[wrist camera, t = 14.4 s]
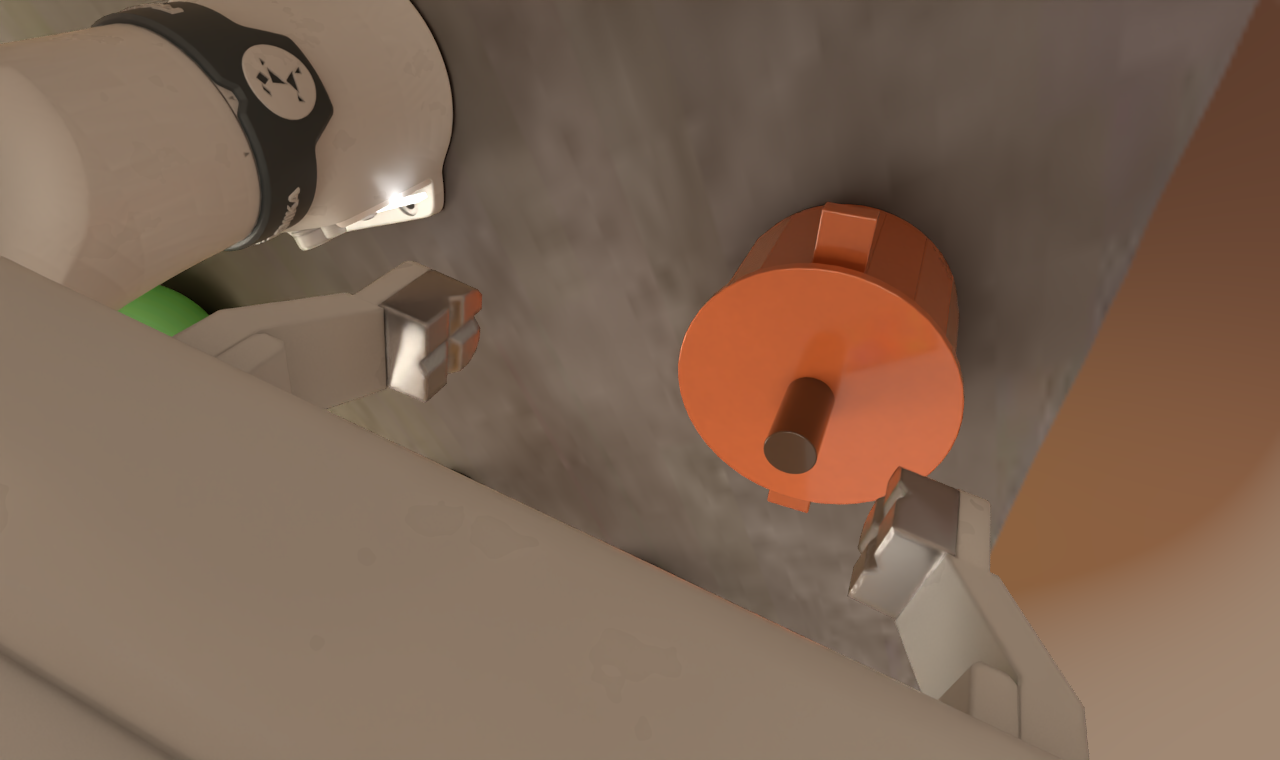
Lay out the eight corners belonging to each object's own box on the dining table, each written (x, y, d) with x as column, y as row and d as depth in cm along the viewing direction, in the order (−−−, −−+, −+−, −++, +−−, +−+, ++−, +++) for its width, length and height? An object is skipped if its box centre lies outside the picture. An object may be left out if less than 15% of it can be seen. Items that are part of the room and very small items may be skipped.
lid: (677, 449, 42) (640, 515, 38) (695, 231, 34) (651, 283, 30) (921, 520, 38) (911, 603, 34) (1007, 292, 30) (1007, 362, 26)
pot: (724, 400, 50) (680, 484, 43) (756, 137, 39) (705, 194, 32) (913, 449, 46) (897, 550, 39) (1005, 175, 36) (1006, 248, 29)
